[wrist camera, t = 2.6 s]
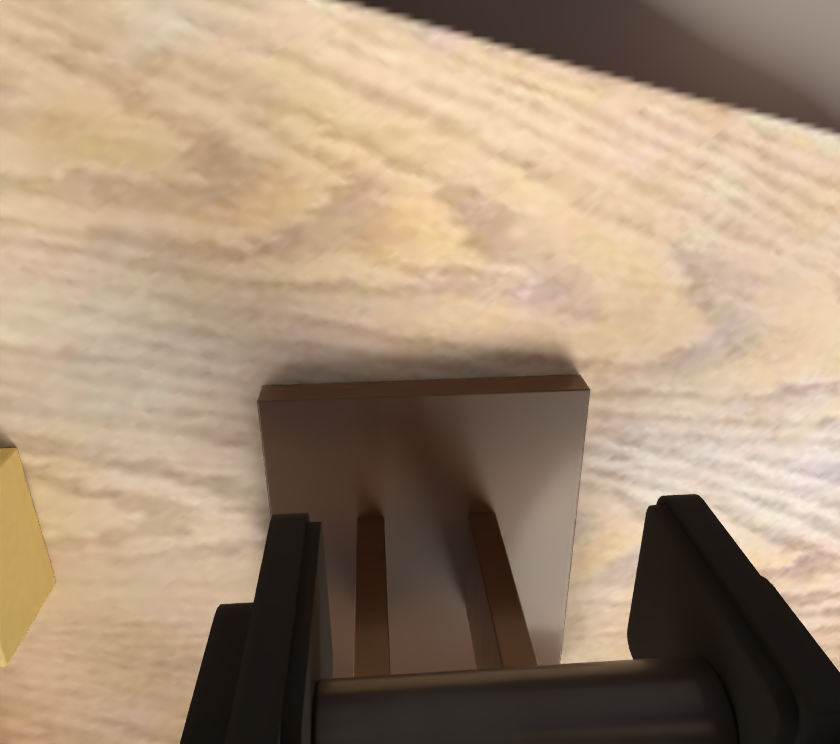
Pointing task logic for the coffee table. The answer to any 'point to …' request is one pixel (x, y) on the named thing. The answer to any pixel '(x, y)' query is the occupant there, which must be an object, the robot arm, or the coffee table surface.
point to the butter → (19, 557)
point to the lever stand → (435, 514)
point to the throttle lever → (531, 705)
